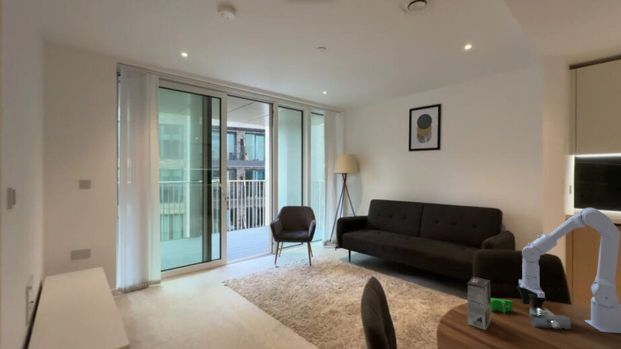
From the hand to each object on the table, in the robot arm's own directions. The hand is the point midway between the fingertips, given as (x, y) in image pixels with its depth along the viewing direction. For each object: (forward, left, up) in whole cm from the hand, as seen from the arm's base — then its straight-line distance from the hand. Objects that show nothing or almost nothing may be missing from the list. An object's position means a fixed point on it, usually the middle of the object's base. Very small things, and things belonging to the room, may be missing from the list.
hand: (531, 307), depth 122 cm
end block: (0, +12, -1) cm, 12 cm away
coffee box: (+25, +13, -2) cm, 28 cm away
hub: (0, +8, -2) cm, 8 cm away
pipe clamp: (+13, +1, -2) cm, 14 cm away
